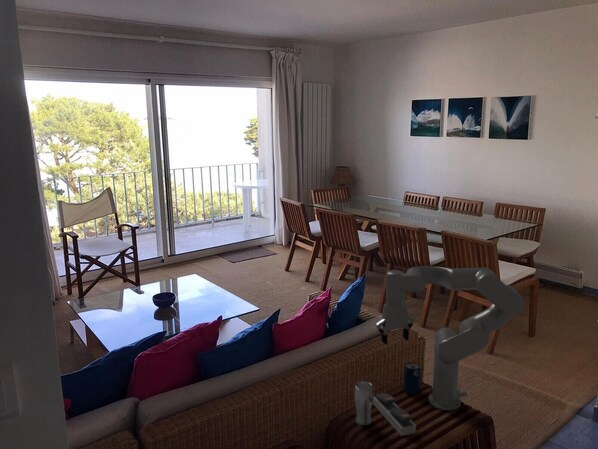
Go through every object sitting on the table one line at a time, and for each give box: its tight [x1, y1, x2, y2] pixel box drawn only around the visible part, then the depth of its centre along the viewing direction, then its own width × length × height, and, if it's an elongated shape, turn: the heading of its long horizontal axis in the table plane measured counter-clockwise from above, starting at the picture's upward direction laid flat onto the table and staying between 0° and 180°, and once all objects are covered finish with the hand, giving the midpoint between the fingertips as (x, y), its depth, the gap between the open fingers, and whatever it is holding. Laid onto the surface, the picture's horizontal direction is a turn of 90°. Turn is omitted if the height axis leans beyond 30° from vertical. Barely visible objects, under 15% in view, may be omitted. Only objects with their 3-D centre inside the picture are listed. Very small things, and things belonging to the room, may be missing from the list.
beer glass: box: [354, 380, 374, 426], centre depth 184 cm, size 7×7×15 cm
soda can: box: [403, 362, 422, 396], centre depth 205 cm, size 7×7×12 cm
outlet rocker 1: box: [375, 392, 398, 404], centre depth 192 cm, size 4×10×1 cm, turn 18°
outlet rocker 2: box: [390, 406, 414, 422], centre depth 181 cm, size 4×10×1 cm, turn 18°
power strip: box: [372, 395, 417, 437], centre depth 187 cm, size 23×6×3 cm, turn 18°
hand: (395, 341), depth 196 cm, fingers open, 9 cm apart
